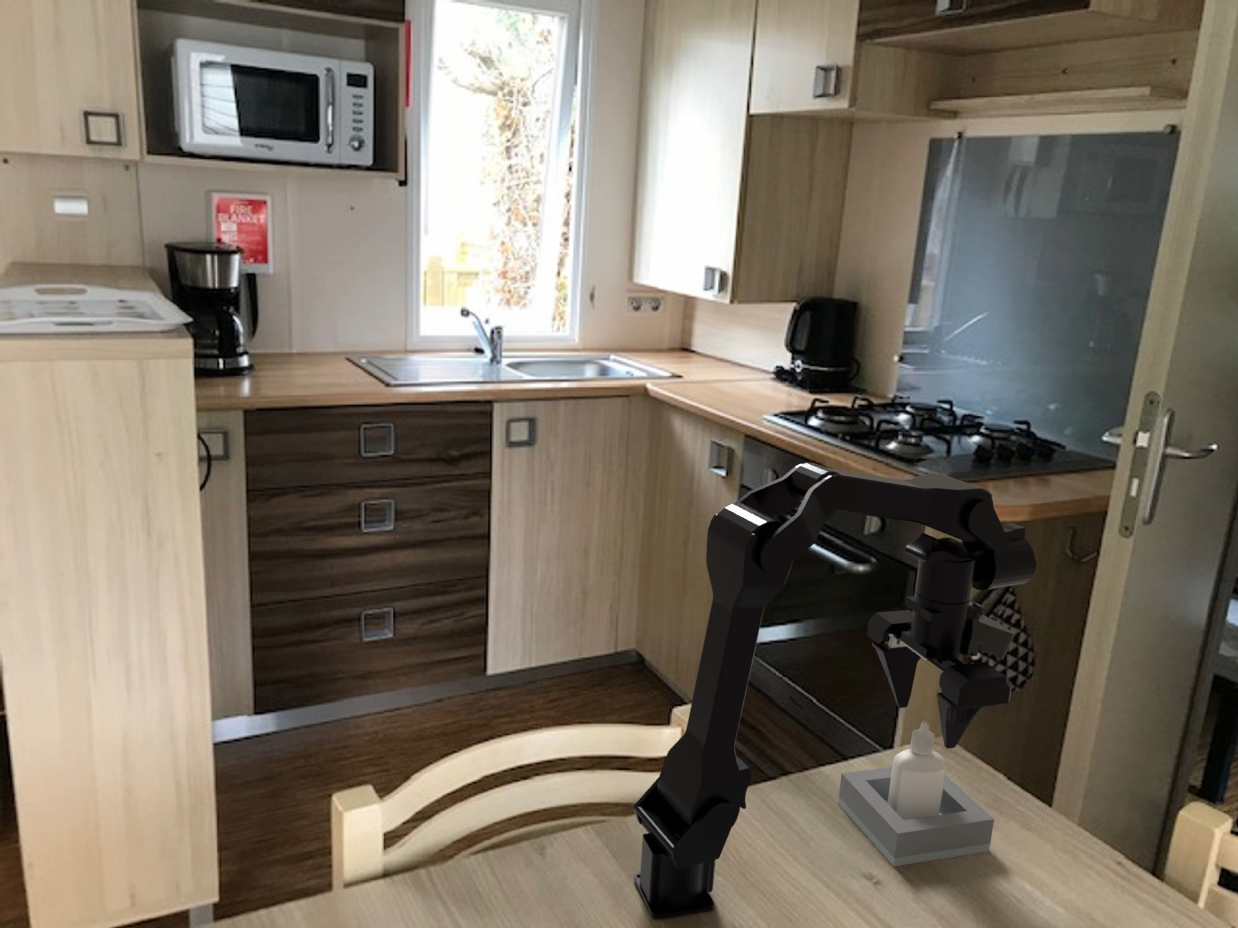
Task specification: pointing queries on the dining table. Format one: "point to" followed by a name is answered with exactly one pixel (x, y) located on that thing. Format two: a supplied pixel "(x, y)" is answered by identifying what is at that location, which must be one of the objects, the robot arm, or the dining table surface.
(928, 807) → the eye dropper bottle
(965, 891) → the dining table surface
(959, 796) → the holder block
